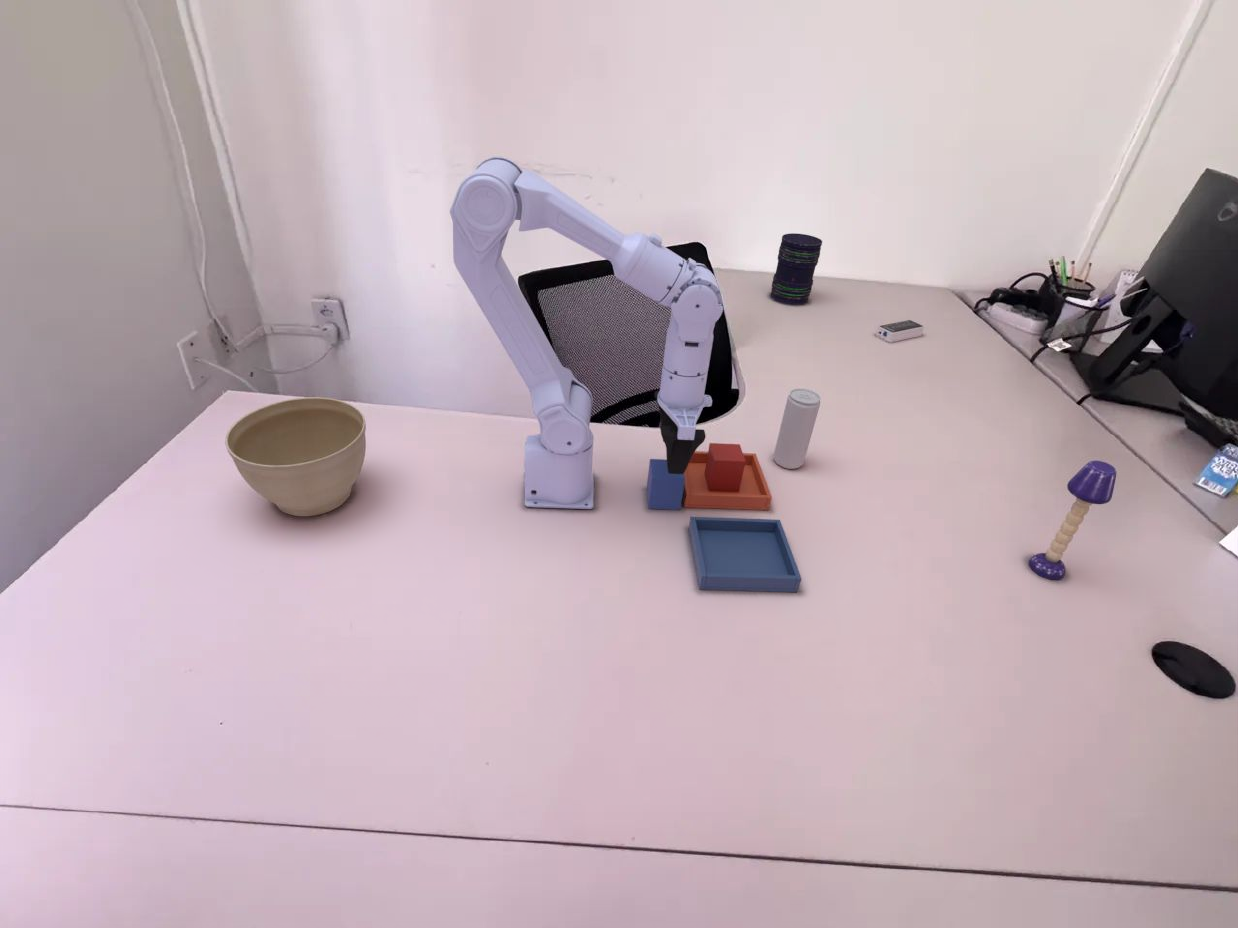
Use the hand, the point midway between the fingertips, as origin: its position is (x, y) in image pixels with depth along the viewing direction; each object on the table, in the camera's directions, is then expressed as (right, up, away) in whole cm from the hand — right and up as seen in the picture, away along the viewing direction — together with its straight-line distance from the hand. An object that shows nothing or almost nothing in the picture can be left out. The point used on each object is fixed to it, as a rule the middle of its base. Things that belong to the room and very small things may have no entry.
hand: (672, 456), depth 89 cm
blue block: (-1, -6, +4) cm, 7 cm away
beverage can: (+20, -1, +14) cm, 24 cm away
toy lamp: (+49, -15, -3) cm, 51 cm away
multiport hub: (+57, +29, +62) cm, 89 cm away
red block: (+8, -4, +7) cm, 12 cm away
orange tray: (+8, -4, +8) cm, 12 cm away
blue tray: (+8, -13, -5) cm, 17 cm away
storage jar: (+36, +41, +77) cm, 95 cm away
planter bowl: (-49, -6, -1) cm, 49 cm away
